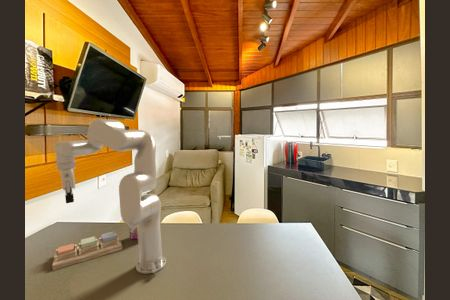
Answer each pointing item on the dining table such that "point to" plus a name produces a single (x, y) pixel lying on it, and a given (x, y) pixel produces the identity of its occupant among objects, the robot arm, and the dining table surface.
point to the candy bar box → (133, 232)
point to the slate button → (108, 237)
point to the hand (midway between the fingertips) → (70, 202)
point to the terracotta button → (66, 249)
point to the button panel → (86, 253)
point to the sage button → (88, 242)
